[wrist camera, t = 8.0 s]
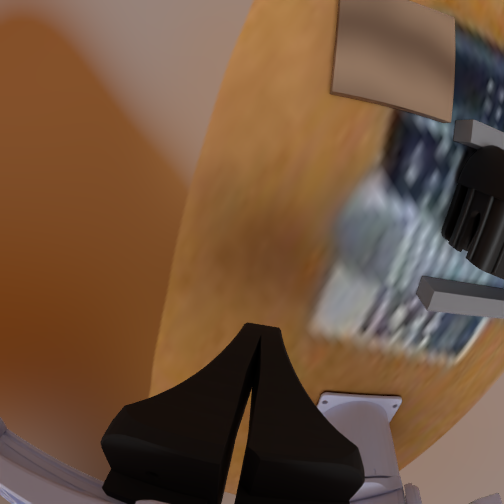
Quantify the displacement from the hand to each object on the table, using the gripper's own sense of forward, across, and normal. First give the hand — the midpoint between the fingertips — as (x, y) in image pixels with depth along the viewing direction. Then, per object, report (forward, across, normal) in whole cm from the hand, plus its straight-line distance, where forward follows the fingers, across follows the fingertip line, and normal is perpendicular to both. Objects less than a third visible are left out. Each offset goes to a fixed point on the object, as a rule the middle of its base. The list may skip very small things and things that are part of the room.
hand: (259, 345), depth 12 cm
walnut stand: (+10, -6, -15) cm, 19 cm away
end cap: (+11, -16, -6) cm, 20 cm away
